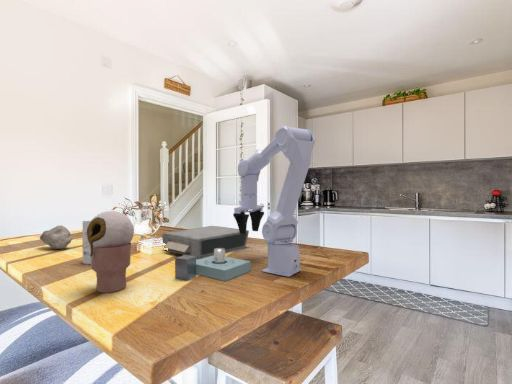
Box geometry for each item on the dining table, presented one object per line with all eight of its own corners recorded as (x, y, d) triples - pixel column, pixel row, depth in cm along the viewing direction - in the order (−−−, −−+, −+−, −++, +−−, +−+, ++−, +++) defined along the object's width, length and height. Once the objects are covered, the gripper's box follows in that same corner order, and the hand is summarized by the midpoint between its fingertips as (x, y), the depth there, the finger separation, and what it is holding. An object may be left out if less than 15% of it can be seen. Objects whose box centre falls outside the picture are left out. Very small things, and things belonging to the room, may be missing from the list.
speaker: (193, 262, 103) (249, 248, 126) (192, 240, 103) (249, 229, 126) (156, 252, 118) (213, 241, 141) (156, 233, 118) (212, 225, 141)
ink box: (112, 262, 102) (112, 220, 101) (101, 265, 97) (100, 221, 97) (94, 260, 104) (93, 219, 104) (81, 263, 100) (81, 220, 99)
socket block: (250, 270, 91) (250, 261, 91) (225, 281, 81) (225, 270, 81) (214, 263, 99) (214, 255, 99) (188, 272, 89) (187, 262, 89)
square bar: (196, 276, 85) (196, 256, 85) (187, 280, 81) (186, 259, 81) (184, 274, 87) (184, 254, 87) (175, 278, 83) (175, 258, 83)
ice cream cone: (77, 295, 70) (76, 213, 70) (103, 281, 81) (102, 209, 80) (121, 296, 69) (120, 213, 69) (141, 281, 80) (140, 209, 80)
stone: (59, 245, 131) (59, 223, 131) (76, 248, 124) (76, 225, 124) (36, 248, 124) (36, 225, 124) (53, 252, 117) (53, 227, 116)
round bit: (227, 271, 90) (227, 249, 90) (219, 274, 87) (219, 250, 87) (219, 269, 92) (219, 247, 92) (211, 271, 90) (211, 249, 90)
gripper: (251, 193, 112) (251, 229, 113) (227, 194, 100) (227, 234, 101) (267, 194, 108) (267, 230, 109) (243, 195, 96) (243, 235, 97)
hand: (249, 232), depth 104 cm, fingers open, 7 cm apart
